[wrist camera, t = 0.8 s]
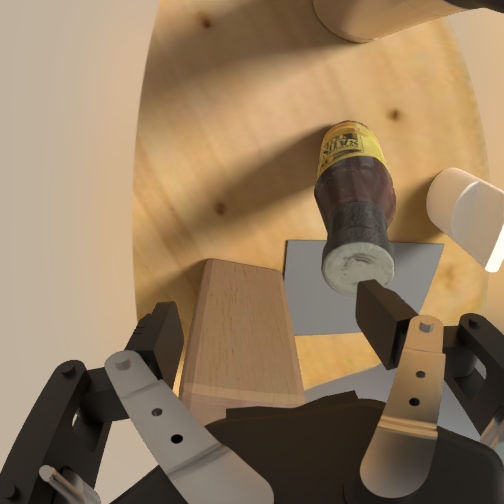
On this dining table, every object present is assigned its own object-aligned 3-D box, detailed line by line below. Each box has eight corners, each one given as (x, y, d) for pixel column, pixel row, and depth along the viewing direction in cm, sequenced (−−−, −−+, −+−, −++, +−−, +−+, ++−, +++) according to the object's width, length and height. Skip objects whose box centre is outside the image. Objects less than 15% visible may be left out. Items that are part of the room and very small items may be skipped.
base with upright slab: (459, 232, 35) (507, 274, 24) (417, 222, 34) (468, 268, 24) (477, 177, 31) (534, 209, 20) (436, 159, 30) (499, 189, 19)
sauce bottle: (345, 106, 26) (368, 185, 11) (388, 144, 27) (446, 264, 12) (308, 149, 30) (278, 269, 15) (350, 183, 31) (358, 323, 16)
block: (196, 313, 40) (175, 441, 23) (206, 253, 36) (177, 391, 18) (264, 324, 42) (274, 451, 24) (284, 268, 37) (311, 405, 19)
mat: (287, 239, 35) (288, 240, 35) (443, 243, 36) (444, 244, 35) (277, 334, 43) (277, 336, 42) (412, 325, 43) (413, 326, 43)
